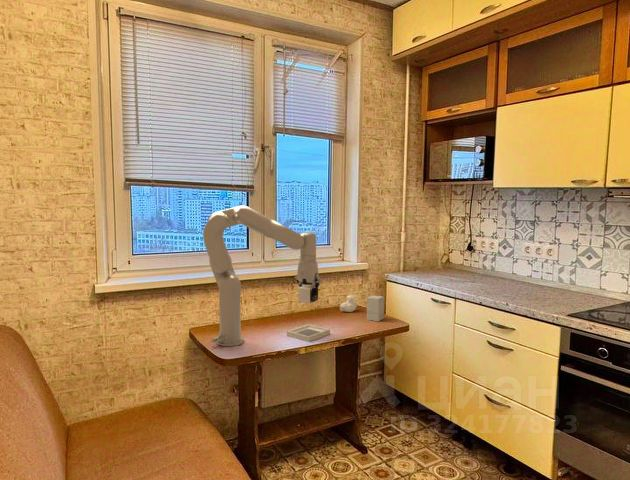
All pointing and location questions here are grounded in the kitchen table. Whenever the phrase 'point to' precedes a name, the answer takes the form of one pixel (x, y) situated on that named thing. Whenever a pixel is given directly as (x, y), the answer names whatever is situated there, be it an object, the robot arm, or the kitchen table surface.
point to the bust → (349, 304)
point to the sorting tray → (308, 332)
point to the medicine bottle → (306, 293)
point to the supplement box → (375, 308)
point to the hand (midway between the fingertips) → (308, 294)
